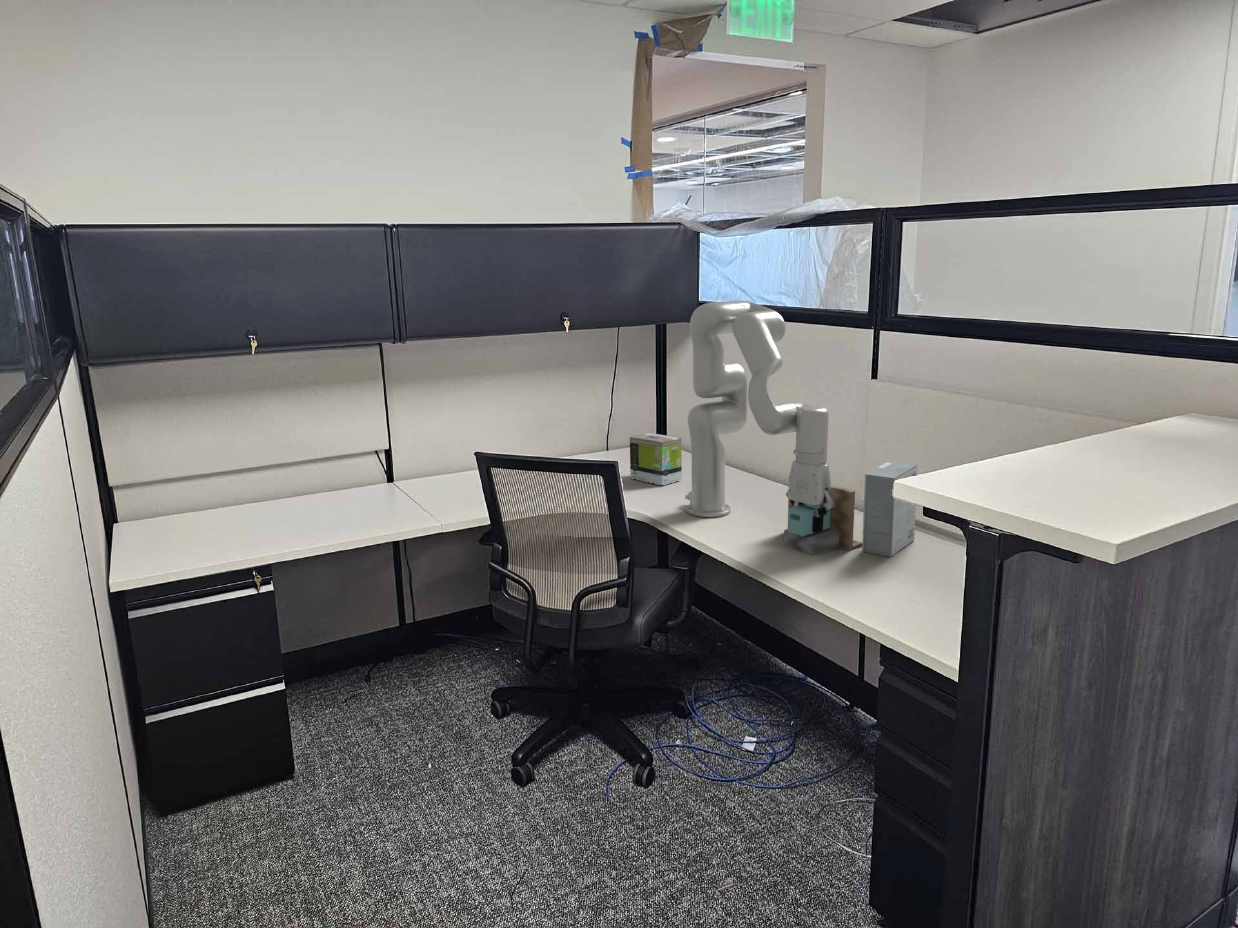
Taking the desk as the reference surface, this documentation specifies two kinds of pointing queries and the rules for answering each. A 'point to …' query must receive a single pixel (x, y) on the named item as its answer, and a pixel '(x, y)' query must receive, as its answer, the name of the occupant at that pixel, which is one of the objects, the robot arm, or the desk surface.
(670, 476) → the tea box
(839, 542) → the wall board
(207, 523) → the desk surface
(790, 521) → the cabinet block
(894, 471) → the hard drive box
